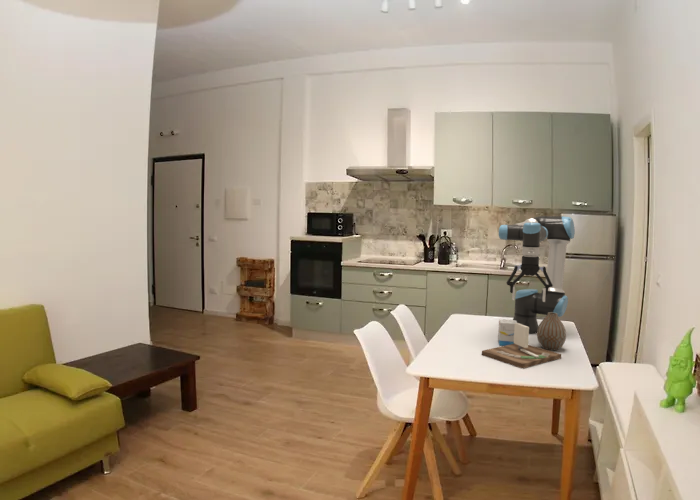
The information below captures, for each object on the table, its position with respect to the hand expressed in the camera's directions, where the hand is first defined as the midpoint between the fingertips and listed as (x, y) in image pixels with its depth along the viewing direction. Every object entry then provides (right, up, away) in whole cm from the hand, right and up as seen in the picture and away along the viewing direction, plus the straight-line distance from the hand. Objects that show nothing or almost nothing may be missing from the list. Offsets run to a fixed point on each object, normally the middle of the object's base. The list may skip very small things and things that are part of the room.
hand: (528, 300), depth 227 cm
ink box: (-5, -24, +15) cm, 28 cm away
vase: (+14, -24, +9) cm, 30 cm away
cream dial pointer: (-4, -23, -7) cm, 24 cm away
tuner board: (-6, -25, -6) cm, 26 cm away
